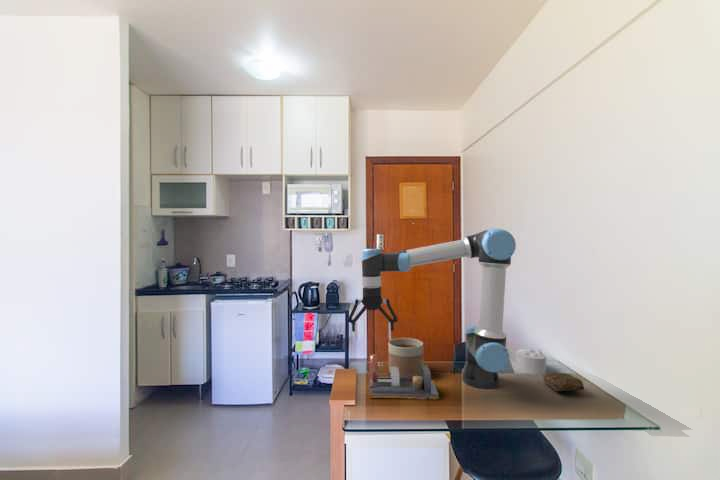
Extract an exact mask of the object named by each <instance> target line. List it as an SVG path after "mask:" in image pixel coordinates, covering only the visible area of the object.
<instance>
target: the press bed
mask: <svg viewBox="0 0 720 480" xmlns="http://www.w3.org/2000/svg"><path fill="white" fill-rule="evenodd" d="M421 377H423V388H421V389H416V388H414V387H413V378H411V377H399V384H400V387H370V386H369V395H375V396H400V397H417V398H429V397H432V398H433V397H436V398H439V399H440V397H439V395H440V394H439V392H438V390H437V388H436V385H435V382H434V380H433V379H432V373H431V371H430V368H429V366H428V365H427V364H423V365H421ZM378 379H391V376H378Z"/></svg>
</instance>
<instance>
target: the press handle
mask: <svg viewBox="0 0 720 480" xmlns="http://www.w3.org/2000/svg"><path fill="white" fill-rule="evenodd" d="M378 358H379V357H378V354H376V353H372V354H371V353H370V354H369V388H370V387H400V384H399V370H398V367H391V373H390V377H391V379H378V377H379V376H378V375H379V373H378V371H379V369H378V367H379V366H378V365H379V362H378V360H379V359H378Z"/></svg>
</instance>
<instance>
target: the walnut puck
mask: <svg viewBox="0 0 720 480" xmlns="http://www.w3.org/2000/svg"><path fill="white" fill-rule="evenodd" d="M412 380H413V387H414V388H416V389H421V388H423V377H421V376H413V378H412Z"/></svg>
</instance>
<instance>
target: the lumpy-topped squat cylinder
mask: <svg viewBox="0 0 720 480" xmlns="http://www.w3.org/2000/svg"><path fill="white" fill-rule="evenodd" d="M516 367H517V368H518V369H520V370H522V371H523V372H526V373H529V374H534V375H540V376H543V374H546V373H547V356H546V355H545V353H543V352H542V350H540V349H535V350H534V349H532V348H530V347H529V348H521V349H518V350H516Z"/></svg>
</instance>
